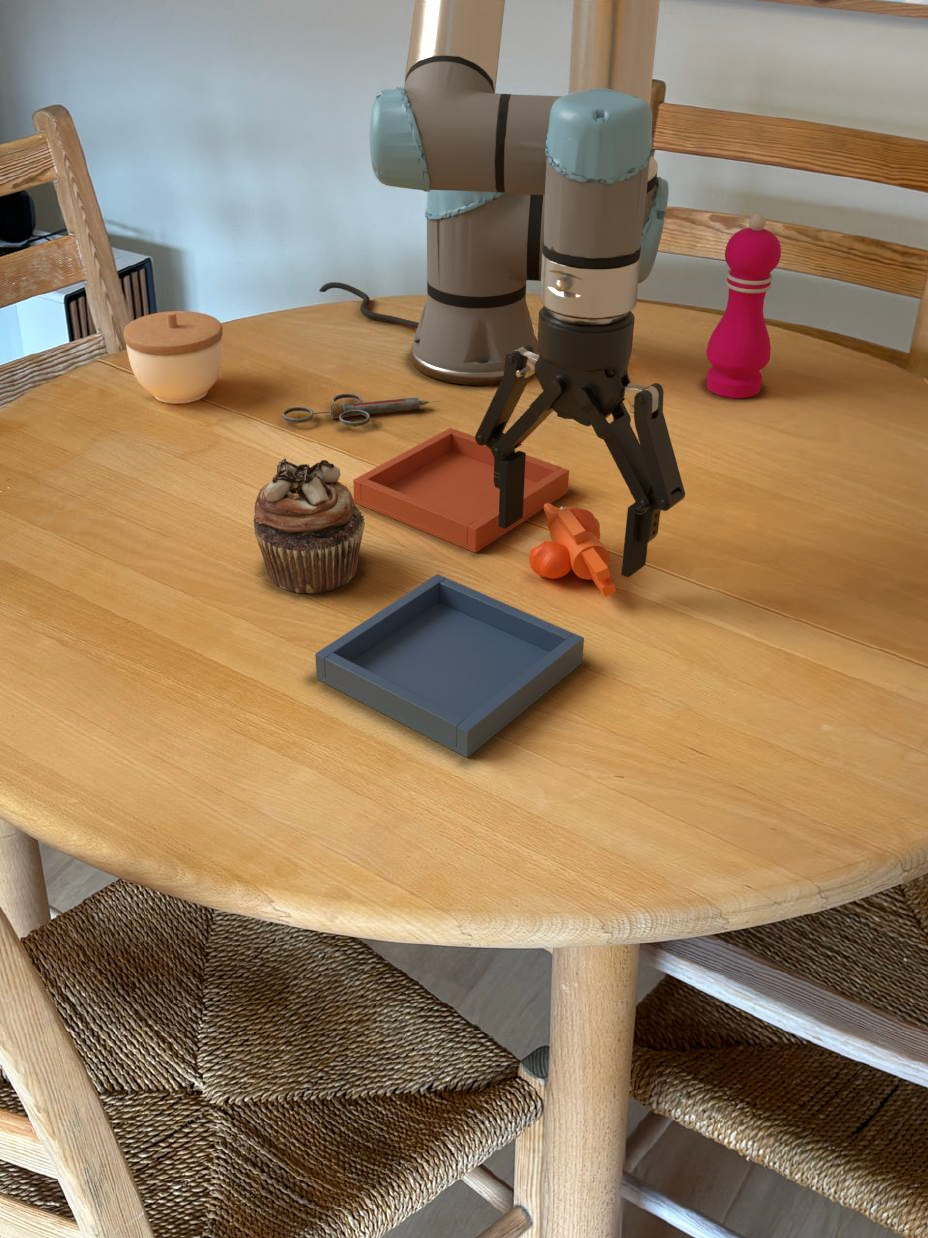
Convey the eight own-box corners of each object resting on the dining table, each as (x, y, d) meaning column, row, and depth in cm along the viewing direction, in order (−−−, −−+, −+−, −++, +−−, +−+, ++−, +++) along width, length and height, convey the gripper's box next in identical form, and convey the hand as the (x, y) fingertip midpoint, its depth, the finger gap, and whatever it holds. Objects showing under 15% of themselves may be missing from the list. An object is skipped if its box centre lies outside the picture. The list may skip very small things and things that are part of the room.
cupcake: (255, 601, 106) (245, 498, 101) (261, 543, 114) (252, 445, 109) (367, 597, 107) (363, 495, 102) (365, 540, 115) (361, 442, 110)
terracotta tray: (353, 502, 121) (352, 479, 120) (449, 449, 131) (450, 427, 130) (475, 553, 114) (476, 529, 112) (568, 492, 123) (569, 469, 122)
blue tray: (316, 679, 98) (314, 653, 96) (437, 598, 107) (437, 573, 106) (467, 758, 90) (467, 731, 89) (582, 663, 100) (584, 637, 98)
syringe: (452, 422, 137) (452, 407, 136) (288, 438, 133) (287, 424, 132) (435, 393, 143) (435, 379, 142) (278, 408, 139) (277, 394, 138)
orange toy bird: (628, 546, 104) (577, 480, 113) (547, 583, 103) (502, 514, 113) (641, 591, 107) (590, 524, 116) (562, 627, 106) (517, 556, 116)
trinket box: (163, 421, 136) (152, 339, 130) (115, 390, 142) (103, 310, 137) (246, 395, 141) (239, 315, 136) (196, 366, 148) (188, 289, 143)
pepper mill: (695, 394, 143) (718, 219, 132) (709, 371, 149) (732, 201, 138) (758, 404, 141) (786, 228, 130) (769, 381, 147) (798, 209, 136)
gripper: (435, 286, 101) (435, 517, 113) (701, 361, 89) (669, 612, 101) (491, 263, 106) (485, 487, 118) (750, 331, 93) (714, 574, 106)
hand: (570, 545), depth 109 cm, fingers open, 12 cm apart
